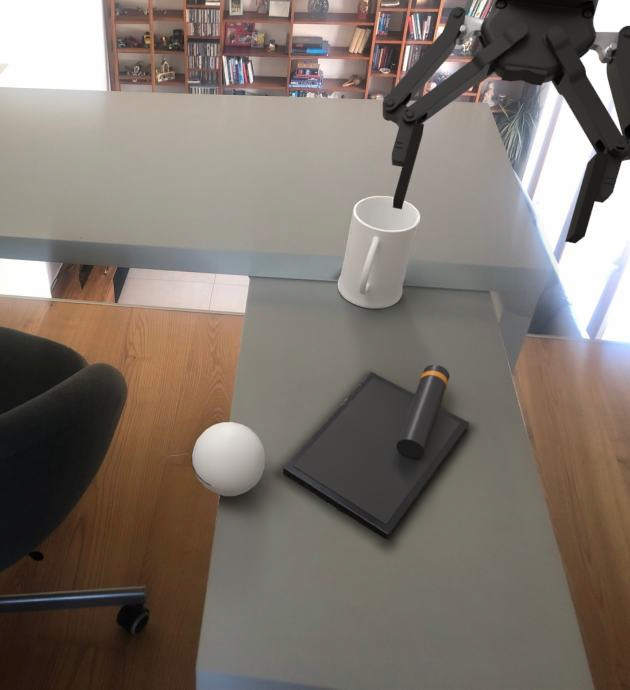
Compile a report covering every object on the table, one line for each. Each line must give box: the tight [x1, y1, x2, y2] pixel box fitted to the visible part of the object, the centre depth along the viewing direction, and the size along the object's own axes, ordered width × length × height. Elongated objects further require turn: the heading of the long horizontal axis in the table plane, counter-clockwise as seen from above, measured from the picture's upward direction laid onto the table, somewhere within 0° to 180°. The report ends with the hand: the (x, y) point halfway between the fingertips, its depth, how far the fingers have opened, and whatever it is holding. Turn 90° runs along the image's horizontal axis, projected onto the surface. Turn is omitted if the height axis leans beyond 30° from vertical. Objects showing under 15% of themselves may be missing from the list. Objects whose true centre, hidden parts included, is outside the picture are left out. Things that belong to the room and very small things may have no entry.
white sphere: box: [165, 421, 267, 497], centre depth 69 cm, size 10×7×7 cm
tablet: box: [282, 371, 470, 540], centre depth 74 cm, size 12×18×1 cm, turn 139°
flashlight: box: [396, 364, 450, 459], centre depth 75 cm, size 3×3×12 cm
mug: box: [337, 195, 421, 310], centre depth 88 cm, size 12×8×12 cm
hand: (482, 221), depth 56 cm, fingers open, 13 cm apart
